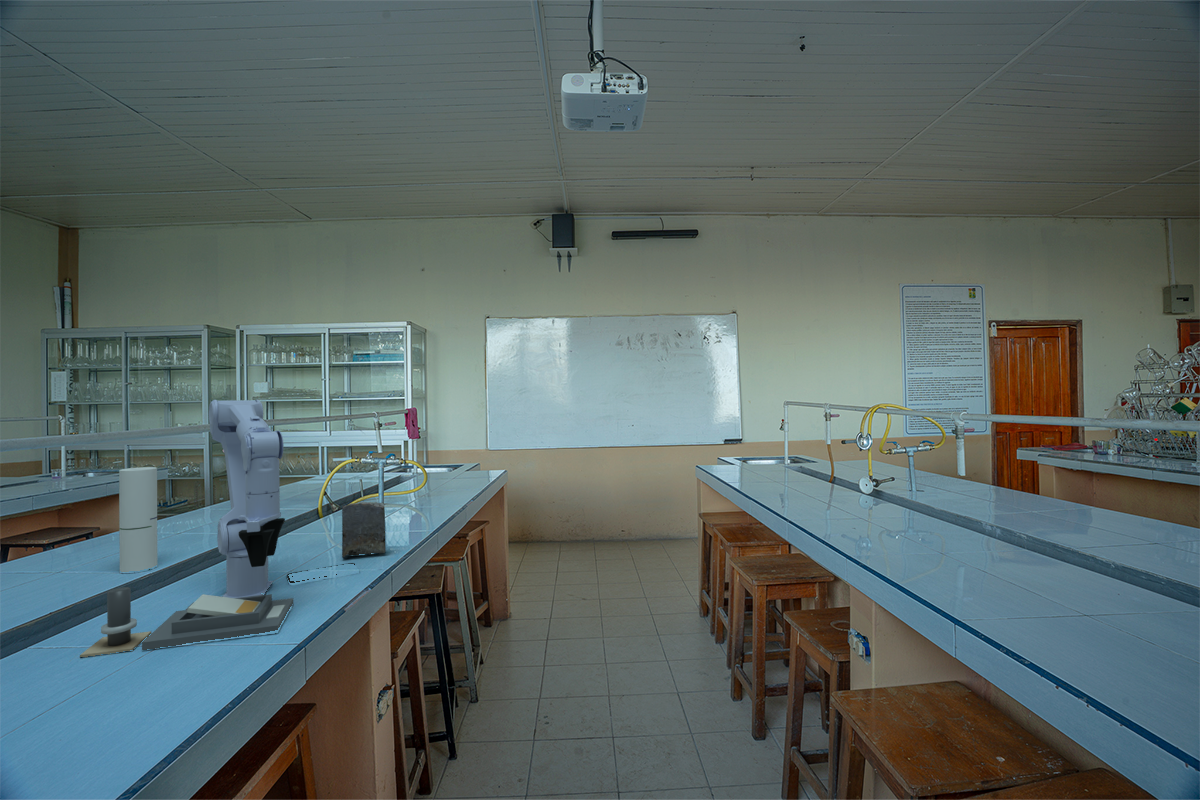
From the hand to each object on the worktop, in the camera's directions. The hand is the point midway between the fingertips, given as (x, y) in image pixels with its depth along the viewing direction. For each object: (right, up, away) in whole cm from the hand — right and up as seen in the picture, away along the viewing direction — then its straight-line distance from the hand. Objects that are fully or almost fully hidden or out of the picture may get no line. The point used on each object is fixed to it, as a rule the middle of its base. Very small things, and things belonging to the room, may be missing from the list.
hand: (263, 560), depth 106 cm
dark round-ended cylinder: (-16, -10, -14) cm, 24 cm away
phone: (0, -11, +23) cm, 25 cm away
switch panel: (-3, -10, -6) cm, 12 cm away
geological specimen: (+3, -11, +38) cm, 39 cm away
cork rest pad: (-17, -11, -14) cm, 24 cm away
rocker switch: (-3, -7, -6) cm, 10 cm away
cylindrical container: (-48, -10, +27) cm, 56 cm away
